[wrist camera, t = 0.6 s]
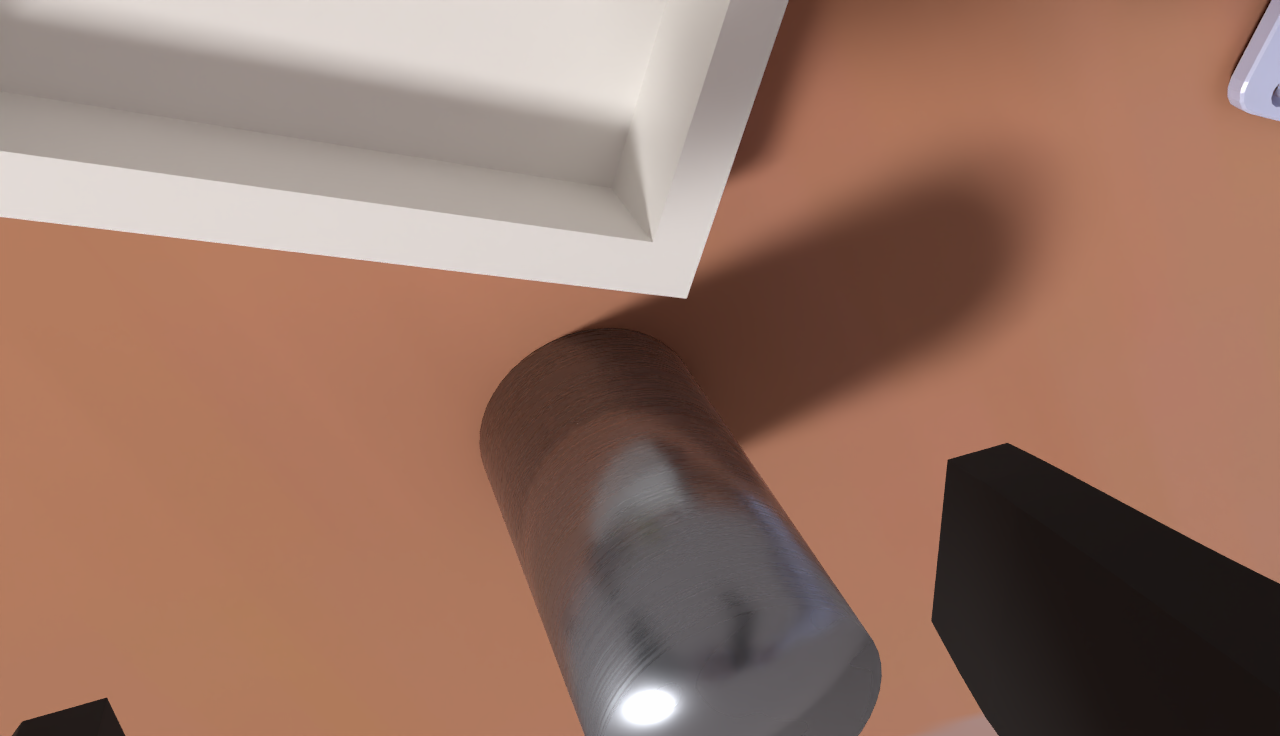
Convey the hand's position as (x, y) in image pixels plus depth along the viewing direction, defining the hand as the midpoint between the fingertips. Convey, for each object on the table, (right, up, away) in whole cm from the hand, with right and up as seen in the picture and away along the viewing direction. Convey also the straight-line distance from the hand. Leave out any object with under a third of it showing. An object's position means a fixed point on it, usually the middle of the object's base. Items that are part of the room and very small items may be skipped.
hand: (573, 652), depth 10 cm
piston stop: (0, +1, +11) cm, 11 cm away
